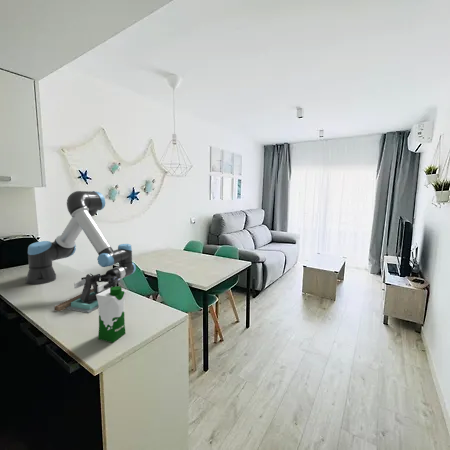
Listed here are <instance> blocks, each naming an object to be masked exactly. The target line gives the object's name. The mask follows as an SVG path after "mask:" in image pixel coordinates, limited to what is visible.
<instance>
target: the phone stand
mask: <svg viewBox="0 0 450 450" xmlns="http://www.w3.org/2000/svg"><path fill="white" fill-rule="evenodd" d="M94 275H95V274H92V273H87V274H86V275H85V277H86V282H85V285H83V288H82V291H81V293H80V294H81V297H80V299H81V300H82V301H83V302H88V301H92V300H96V299H97V297H96V294H99V293H101V292H102V291H100V292H98V286H99V285H98V282H96V280H97V278H96V277H95V276H94ZM91 289H94V292H95V295H91V296H89V294H90V290H91Z"/></svg>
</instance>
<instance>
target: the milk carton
mask: <svg viewBox="0 0 450 450" xmlns="http://www.w3.org/2000/svg"><path fill="white" fill-rule="evenodd" d="M126 295H127V290H125V289H122V286H120V285H119V286H118V285H116V286H115V287H113V286H111V287H108V288H106V289H104V290H102V291H101V293H99V294H96V297H97V301H98V305H99V308H98V336H97V339H98V340H101V341H104V342H109V343H113V344H114V343H115V342H117V341H118V340H119V339H120V338H122V337H123V336H124V335H126V326H125V325H126V323H125V300H126Z"/></svg>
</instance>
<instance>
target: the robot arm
mask: <svg viewBox="0 0 450 450" xmlns="http://www.w3.org/2000/svg"><path fill="white" fill-rule="evenodd" d="M105 207H106V198H105V196H104V195H103V193H101V192H99V191H94V190H93V191H92V190H91V191H88V190H87V191H85V190H77V191H74V192H72V193H70V194H69V196H68V197H67V199H66V208H67V211H68V213H69V214H70V216H71V219H70V220H69V221H68V223H67V225H66V227H65V228H64V229H63V231H62V233H61V234H60V235H57V236H56V238H55V239H54V241H49V240H43V241H42V240H41V241H36V242H33V243H31V244H29V245H28V247H27V259H28V260H27V261H28V271H27V274H26V275H27V276H26V277H25V283H26V284H28V285H41V284H46V283H47V284H48V283H51V282H53V281H55V280H56V279H57V273H56V272H55V269H54V267H53V261H57V260H62V259H66V258H69V257H71V256H74V254H75V252H76V247H77V245H76V240H77V238H78V237H79V236H80V234H81V232H82V231H83V233H84V234H85V236H86V237H87V239H88V240H89V242H90V244H91V245H92V247H93V248H94V250H95V252H96V253H97V255H98V256H97V257H96V258H97V264H98V265H99V266H100V267H102V268H108V267H111V266H114V265H116V264H118V266H115V267H114V268H110V269H109V270H107V271H106V272H105V273H104V274H101V273H97V274H93V275H94V276H95V277H96V278H97V280H96V282H97V283H102V284H100V285H98V292H100V291H101V292H103V291H105V290H107V289H109V288H111V287H115V286H118V284H119V282H120V281H121V280H122V279H125V278H127V277H129V276H131V275H133V274H134V273H135V272H136V269H137V265H136V264H135V263H134V262H133V249H132V245H131V244H129V243H121V244H119V245H117V249H113V247H112V246H111V245H110V243H109V241H108V240H107V238H106V237H105V235H104V234H103V232H102V230H101V229H100V227H99V225H98V224H97V223H96V221H95V220H94V216H95V215H96V214H97V213H98V211H101V210H103V209H104V208H105ZM50 281H51V282H50ZM85 282H86V276H85V277H81V278H80V280H79V281H76V282H74V283H73V289H74V290H76V289H77V288H80V287H82V286H83V287H84V285H85Z"/></svg>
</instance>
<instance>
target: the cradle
mask: <svg viewBox="0 0 450 450" xmlns="http://www.w3.org/2000/svg"><path fill="white" fill-rule="evenodd" d="M91 295H95V292H91V293H90V294H89V296H91ZM97 309H99V305H98V301H97V299H96V300H92V301H88V302H83V301H82V300H81V299H80V298H79V299H77V300H75V301H73V302H71V305H70V306H68V307H66V309H65V310H70V311H76V312H82V313H87V314H90V313H91V312H93V311H95V310H97Z"/></svg>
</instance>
